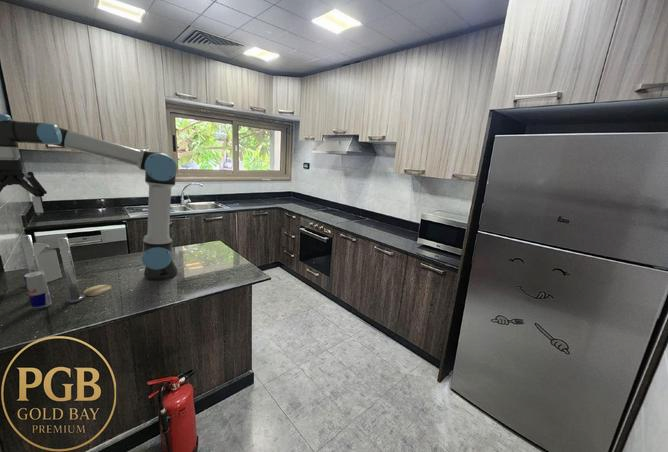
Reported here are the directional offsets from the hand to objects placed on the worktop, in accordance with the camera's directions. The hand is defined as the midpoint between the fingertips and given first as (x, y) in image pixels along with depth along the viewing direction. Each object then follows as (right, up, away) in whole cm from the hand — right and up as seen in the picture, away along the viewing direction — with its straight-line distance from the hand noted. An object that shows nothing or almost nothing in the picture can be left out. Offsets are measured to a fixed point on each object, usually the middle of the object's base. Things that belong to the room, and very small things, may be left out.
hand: (19, 216), depth 102 cm
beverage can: (-2, -38, +10) cm, 39 cm away
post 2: (+7, -36, +16) cm, 40 cm away
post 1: (-9, -35, +16) cm, 40 cm away
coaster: (+9, -34, +24) cm, 43 cm away
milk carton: (-23, -31, +32) cm, 50 cm away
